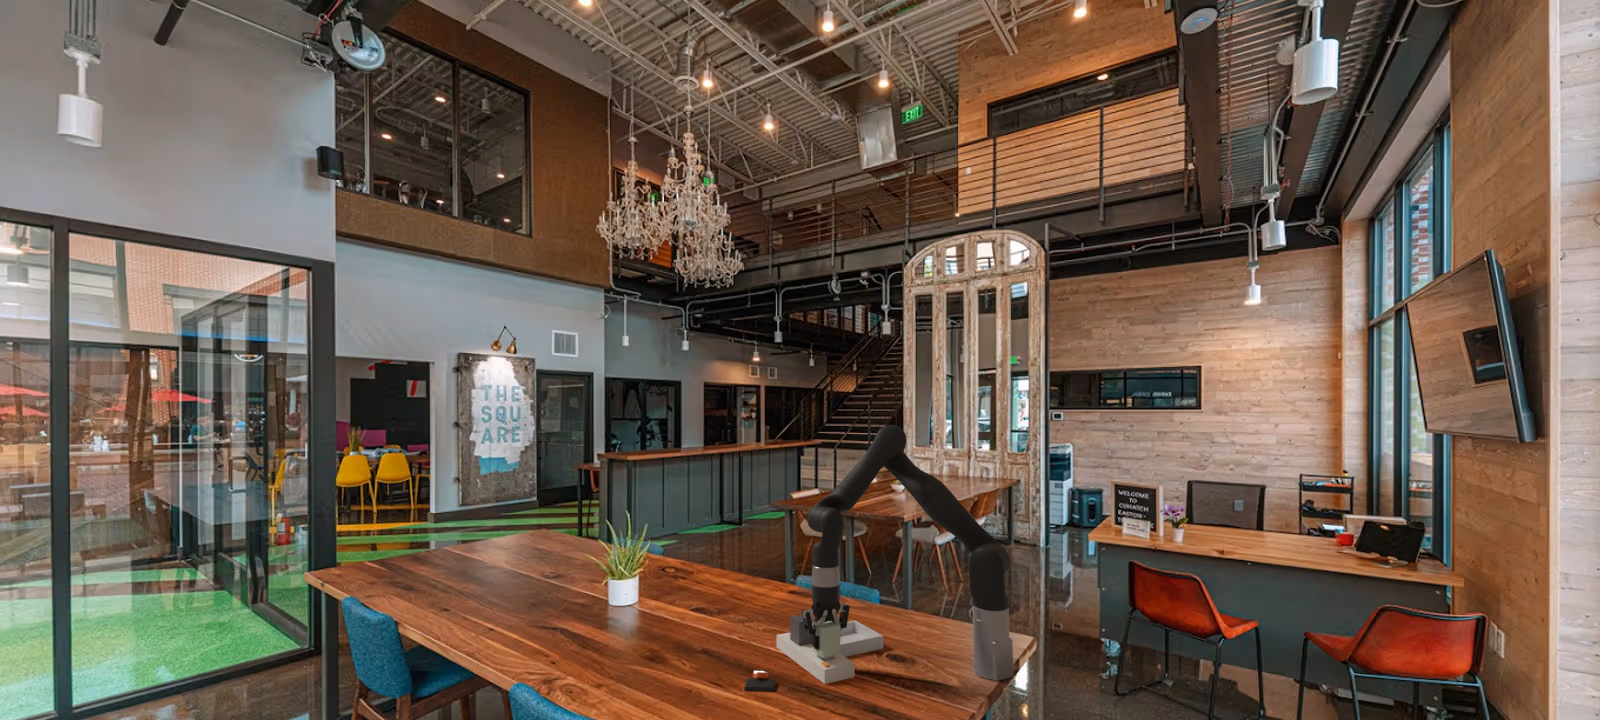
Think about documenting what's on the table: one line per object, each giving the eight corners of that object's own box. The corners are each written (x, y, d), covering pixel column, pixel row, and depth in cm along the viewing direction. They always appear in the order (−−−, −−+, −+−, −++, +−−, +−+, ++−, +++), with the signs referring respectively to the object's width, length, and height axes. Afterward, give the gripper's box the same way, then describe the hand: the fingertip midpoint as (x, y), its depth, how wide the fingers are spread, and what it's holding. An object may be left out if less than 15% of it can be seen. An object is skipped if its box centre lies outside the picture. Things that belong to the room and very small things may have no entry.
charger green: (840, 663, 164) (839, 625, 165) (822, 668, 162) (822, 628, 163) (829, 656, 169) (829, 619, 170) (812, 660, 167) (812, 622, 167)
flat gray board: (854, 676, 161) (854, 660, 162) (824, 684, 157) (824, 667, 158) (803, 641, 186) (803, 627, 186) (776, 647, 182) (776, 632, 182)
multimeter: (743, 662, 172) (743, 649, 172) (785, 664, 170) (785, 652, 170) (725, 692, 154) (726, 677, 154) (773, 695, 152) (773, 680, 153)
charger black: (815, 651, 176) (815, 619, 177) (799, 655, 173) (799, 622, 174) (806, 645, 181) (806, 613, 181) (790, 648, 178) (790, 616, 179)
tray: (883, 648, 181) (883, 635, 181) (839, 658, 174) (838, 644, 174) (854, 632, 194) (854, 620, 194) (812, 640, 187) (812, 628, 187)
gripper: (809, 589, 161) (809, 657, 159) (855, 582, 167) (856, 646, 166) (795, 582, 167) (795, 647, 166) (841, 575, 174) (841, 638, 173)
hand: (826, 646), depth 166 cm, fingers closed on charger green, 5 cm apart
